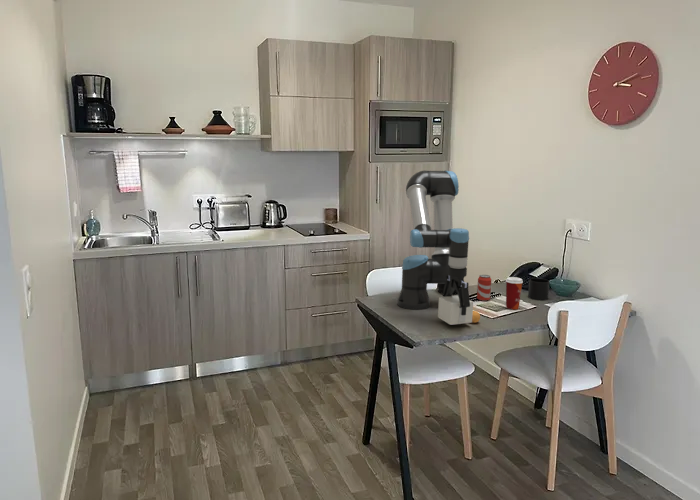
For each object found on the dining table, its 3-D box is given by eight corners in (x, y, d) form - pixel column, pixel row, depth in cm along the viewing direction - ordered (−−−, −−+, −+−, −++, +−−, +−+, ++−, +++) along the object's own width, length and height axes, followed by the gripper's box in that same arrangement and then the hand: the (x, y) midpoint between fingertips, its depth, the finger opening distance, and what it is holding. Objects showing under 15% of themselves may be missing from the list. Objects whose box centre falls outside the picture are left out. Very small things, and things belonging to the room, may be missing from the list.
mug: (554, 297, 263) (556, 280, 262) (540, 301, 257) (542, 283, 255) (538, 293, 271) (539, 276, 269) (524, 297, 264) (525, 279, 262)
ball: (480, 308, 223) (483, 318, 224) (469, 308, 226) (472, 318, 227) (476, 314, 219) (479, 324, 220) (465, 315, 222) (468, 325, 223)
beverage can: (484, 302, 254) (486, 278, 252) (474, 299, 259) (475, 275, 257) (492, 300, 257) (494, 276, 255) (482, 297, 263) (483, 273, 260)
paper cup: (521, 310, 241) (524, 281, 238) (504, 309, 242) (506, 280, 240) (519, 306, 248) (522, 277, 246) (503, 304, 250) (505, 276, 247)
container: (457, 288, 278) (458, 270, 276) (464, 295, 266) (465, 276, 264) (434, 288, 277) (434, 270, 276) (440, 295, 265) (440, 276, 263)
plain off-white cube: (450, 324, 214) (451, 304, 212) (437, 317, 223) (438, 297, 222) (472, 322, 218) (473, 301, 216) (458, 314, 227) (459, 295, 225)
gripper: (481, 272, 207) (477, 325, 211) (451, 260, 228) (448, 309, 232) (465, 273, 204) (461, 327, 209) (435, 261, 225) (433, 310, 229)
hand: (454, 318), depth 220 cm, fingers closed on plain off-white cube, 10 cm apart
